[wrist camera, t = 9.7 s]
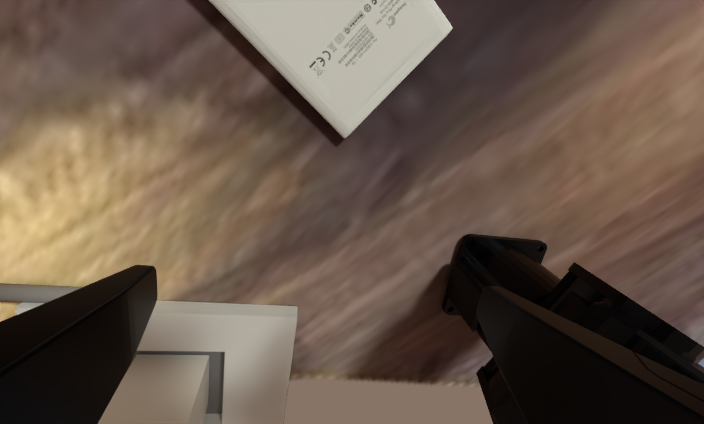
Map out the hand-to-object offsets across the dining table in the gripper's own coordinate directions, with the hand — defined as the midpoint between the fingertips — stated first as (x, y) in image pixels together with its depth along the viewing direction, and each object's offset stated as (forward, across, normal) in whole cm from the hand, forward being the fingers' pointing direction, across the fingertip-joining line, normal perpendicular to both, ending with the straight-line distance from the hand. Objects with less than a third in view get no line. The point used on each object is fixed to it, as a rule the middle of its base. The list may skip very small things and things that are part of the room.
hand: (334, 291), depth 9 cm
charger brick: (+12, +8, +16) cm, 21 cm away
